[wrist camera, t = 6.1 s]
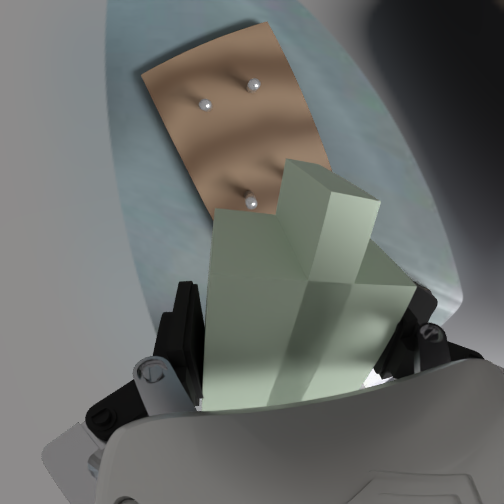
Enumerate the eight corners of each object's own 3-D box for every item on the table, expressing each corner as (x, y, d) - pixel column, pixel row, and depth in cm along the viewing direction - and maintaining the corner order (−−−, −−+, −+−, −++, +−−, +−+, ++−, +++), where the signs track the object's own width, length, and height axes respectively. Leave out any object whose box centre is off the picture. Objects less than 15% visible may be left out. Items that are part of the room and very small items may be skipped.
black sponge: (332, 301, 36) (341, 318, 33) (369, 250, 33) (382, 263, 30) (401, 330, 41) (411, 344, 37) (433, 290, 38) (445, 303, 34)
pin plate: (341, 211, 30) (357, 225, 26) (235, 257, 32) (236, 277, 28) (265, 26, 21) (271, 10, 17) (145, 77, 22) (130, 69, 18)
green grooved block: (222, 149, 10) (220, 175, 6) (370, 175, 11) (444, 217, 7) (202, 365, 15) (201, 439, 11) (305, 367, 16) (325, 434, 12)
